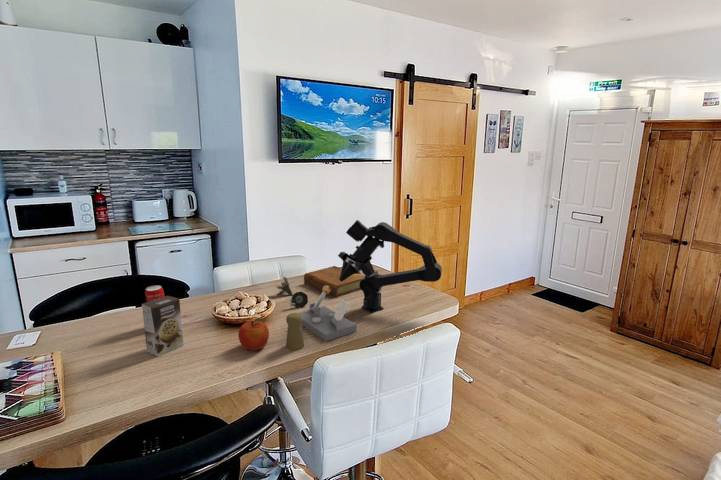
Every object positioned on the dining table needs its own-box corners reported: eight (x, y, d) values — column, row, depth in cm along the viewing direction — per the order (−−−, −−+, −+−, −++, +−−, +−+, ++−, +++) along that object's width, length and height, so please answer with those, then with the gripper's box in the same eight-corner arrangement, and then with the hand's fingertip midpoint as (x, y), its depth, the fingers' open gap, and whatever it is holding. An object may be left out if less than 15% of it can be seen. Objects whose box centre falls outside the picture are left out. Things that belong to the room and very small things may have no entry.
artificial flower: (289, 313, 162) (281, 290, 160) (278, 299, 183) (270, 279, 180) (310, 304, 165) (302, 281, 163) (296, 292, 186) (289, 272, 183)
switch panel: (324, 311, 160) (324, 298, 159) (356, 331, 144) (356, 316, 142) (294, 320, 152) (294, 306, 151) (325, 341, 136) (325, 326, 135)
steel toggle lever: (314, 311, 154) (329, 286, 155) (317, 314, 152) (333, 288, 152) (308, 308, 153) (323, 283, 154) (311, 311, 150) (326, 285, 151)
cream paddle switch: (334, 323, 144) (345, 300, 144) (339, 328, 140) (350, 304, 140) (329, 321, 143) (340, 298, 143) (334, 326, 139) (345, 302, 139)
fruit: (244, 339, 137) (242, 312, 134) (272, 340, 136) (271, 312, 134) (234, 354, 127) (232, 324, 125) (265, 355, 127) (263, 325, 125)
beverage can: (173, 324, 147) (169, 285, 144) (157, 332, 141) (152, 291, 138) (161, 321, 149) (157, 282, 146) (145, 328, 144) (140, 288, 140)
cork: (300, 351, 129) (300, 319, 127) (282, 349, 131) (281, 317, 128) (307, 342, 135) (306, 311, 133) (289, 340, 136) (288, 309, 134)
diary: (304, 285, 191) (303, 273, 190) (334, 277, 204) (334, 265, 203) (336, 298, 175) (336, 285, 174) (366, 288, 188) (367, 276, 187)
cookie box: (158, 357, 125) (152, 308, 121) (146, 351, 128) (140, 303, 124) (184, 345, 132) (180, 298, 129) (172, 340, 136) (167, 294, 132)
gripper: (391, 268, 153) (364, 300, 151) (367, 256, 169) (343, 285, 167) (373, 250, 148) (345, 283, 145) (350, 239, 164) (325, 269, 161)
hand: (340, 280), depth 155 cm, fingers closed
